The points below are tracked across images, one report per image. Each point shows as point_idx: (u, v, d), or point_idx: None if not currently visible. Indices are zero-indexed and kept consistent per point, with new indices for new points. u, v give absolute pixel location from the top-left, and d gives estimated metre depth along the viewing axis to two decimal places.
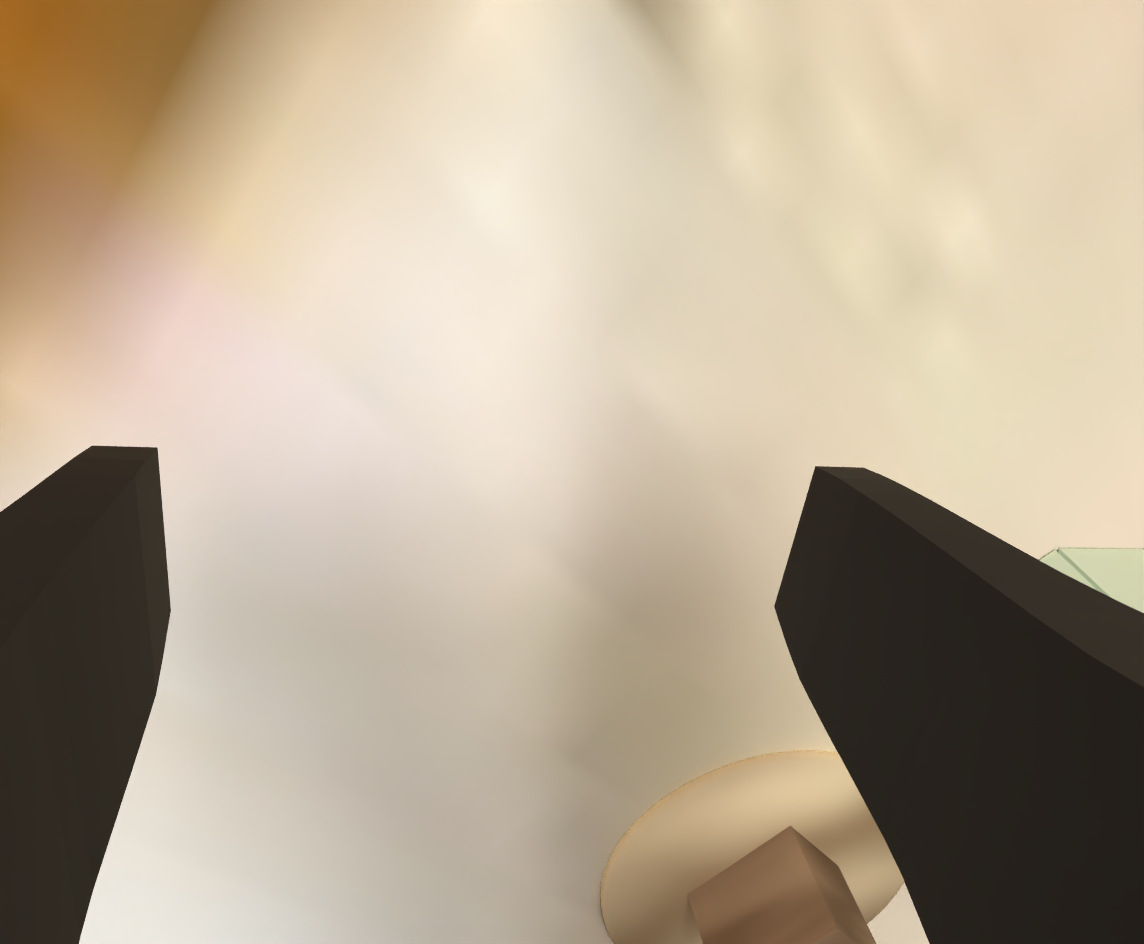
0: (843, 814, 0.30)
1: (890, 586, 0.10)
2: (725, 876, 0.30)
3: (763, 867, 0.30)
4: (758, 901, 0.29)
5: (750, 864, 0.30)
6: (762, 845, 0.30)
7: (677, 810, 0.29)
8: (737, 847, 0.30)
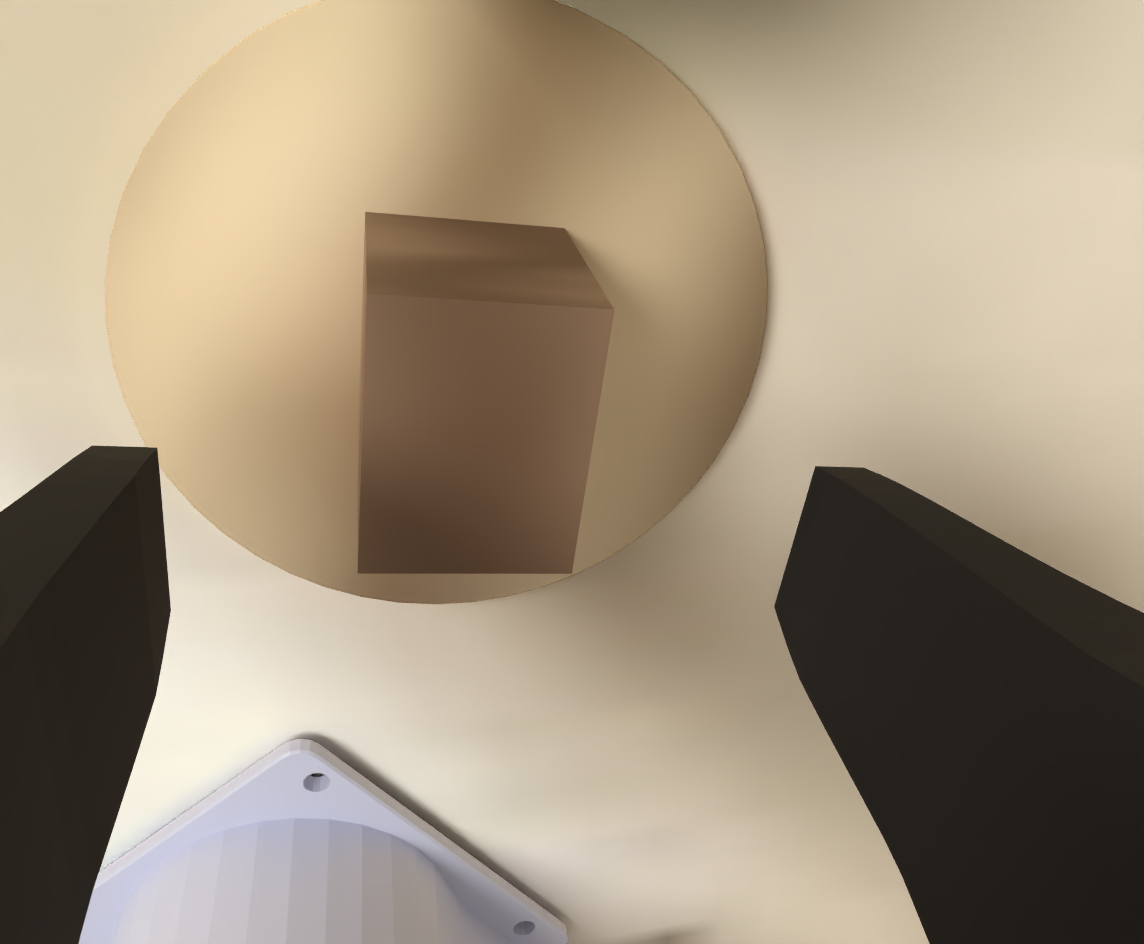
0: (438, 119, 0.14)
1: (890, 586, 0.10)
2: (360, 376, 0.15)
3: (363, 313, 0.14)
4: (361, 371, 0.14)
5: None
6: None
7: (124, 319, 0.15)
8: (326, 316, 0.15)
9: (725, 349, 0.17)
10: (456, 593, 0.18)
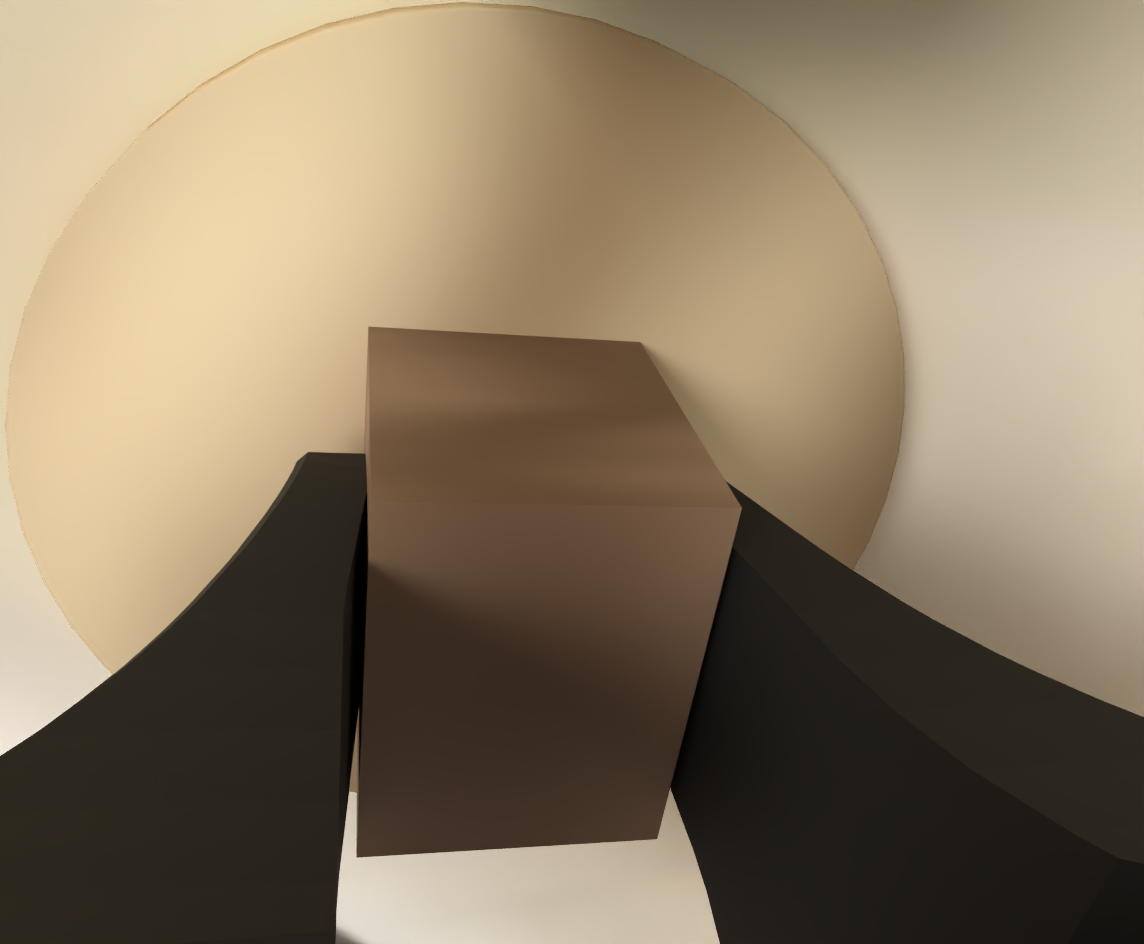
0: (471, 202, 0.10)
1: None
2: None
3: None
4: None
5: None
6: None
7: (36, 472, 0.11)
8: None
9: (843, 488, 0.13)
10: None
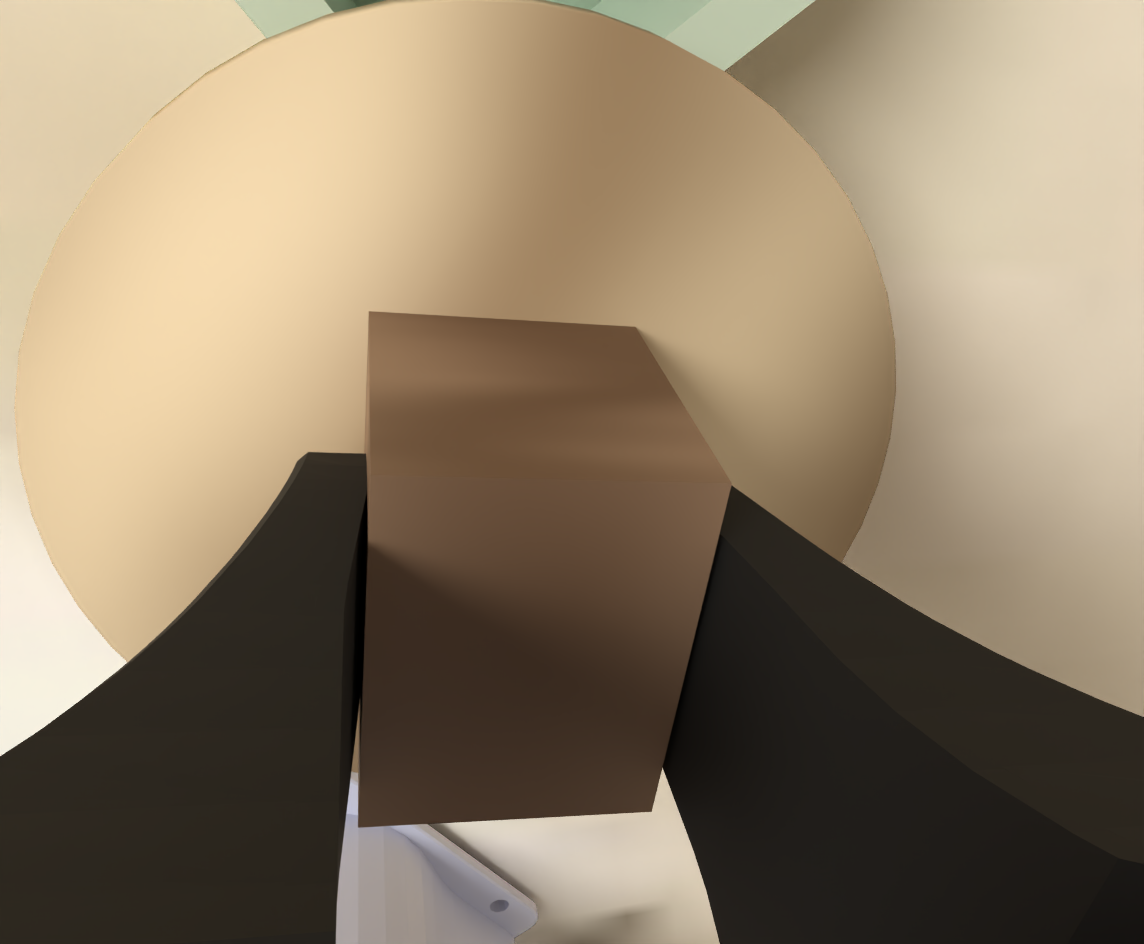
0: (469, 188, 0.10)
1: None
2: None
3: (366, 448, 0.11)
4: None
5: None
6: None
7: (44, 454, 0.11)
8: (316, 445, 0.11)
9: (836, 471, 0.13)
10: None
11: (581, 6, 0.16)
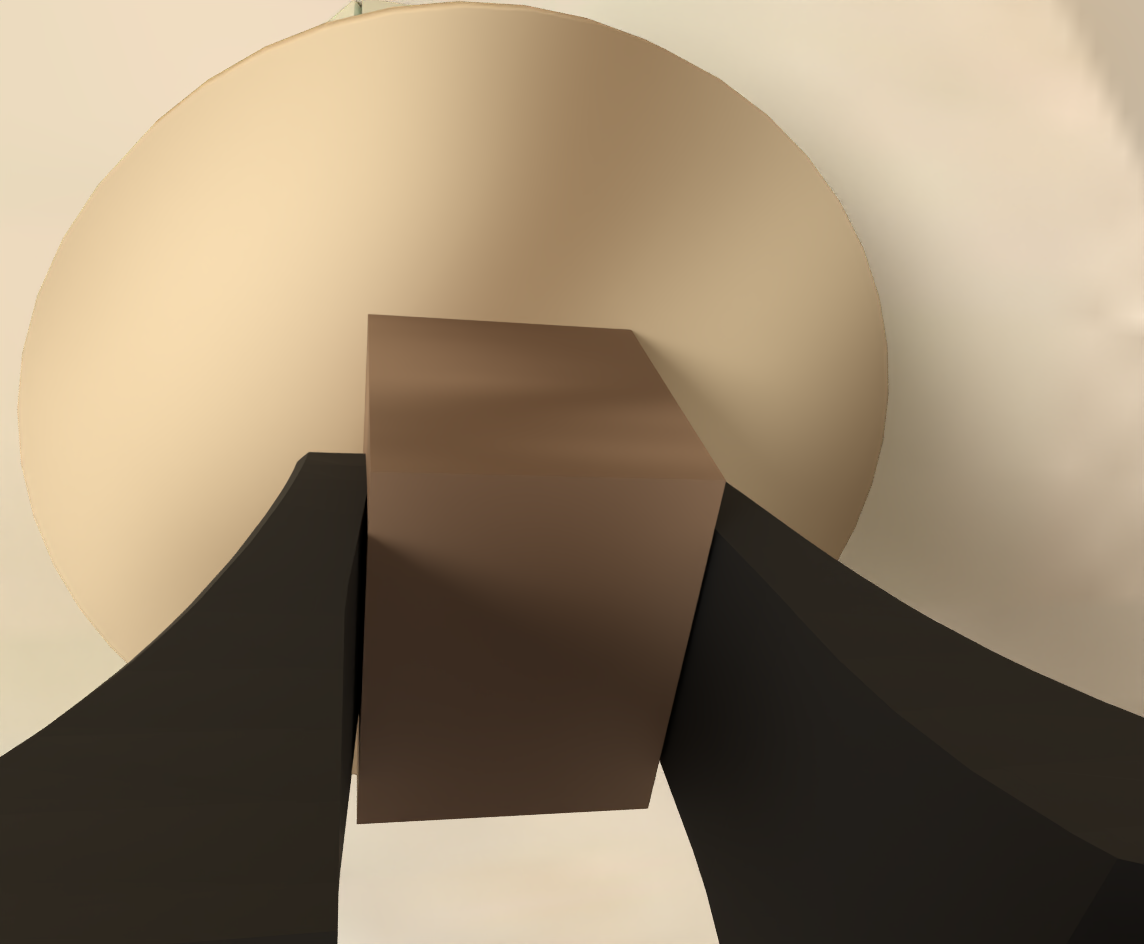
0: (467, 193, 0.10)
1: None
2: None
3: (365, 449, 0.11)
4: None
5: None
6: None
7: (47, 456, 0.11)
8: (316, 447, 0.11)
9: (830, 473, 0.13)
10: None
11: None
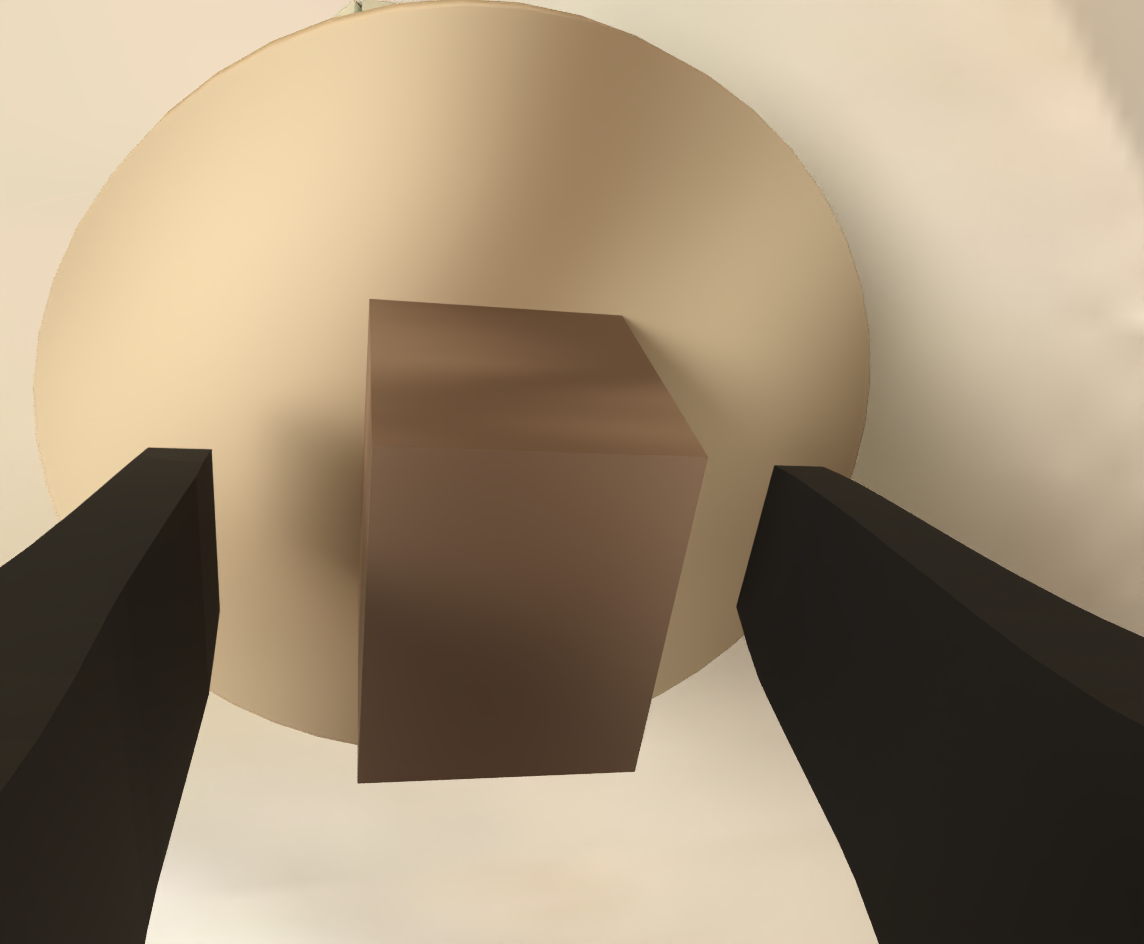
0: (464, 183, 0.11)
1: (842, 586, 0.10)
2: (361, 499, 0.12)
3: (366, 428, 0.11)
4: (364, 509, 0.11)
5: (364, 441, 0.12)
6: None
7: (60, 433, 0.11)
8: (318, 427, 0.12)
9: (814, 456, 0.13)
10: None
11: None
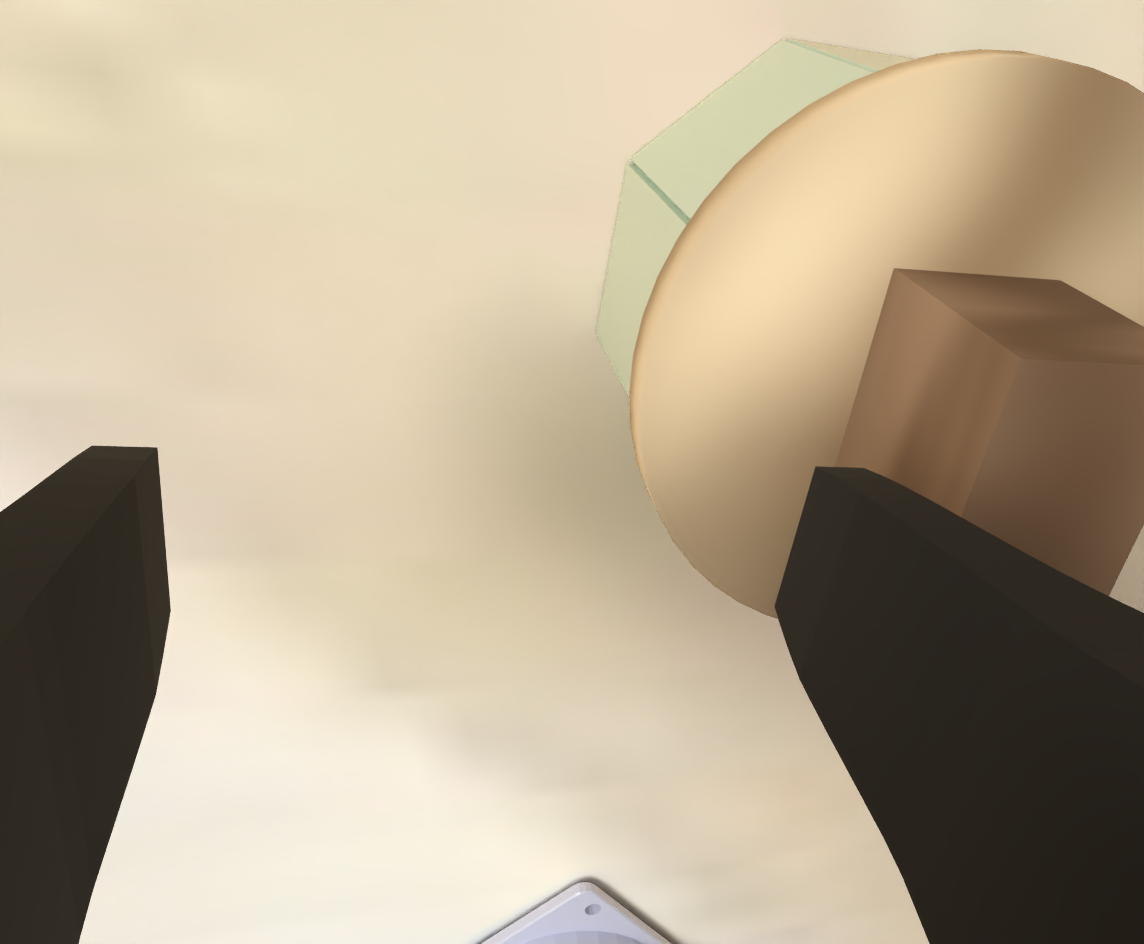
0: (978, 182, 0.15)
1: (889, 586, 0.10)
2: (855, 420, 0.16)
3: (890, 363, 0.15)
4: (905, 419, 0.15)
5: (873, 375, 0.16)
6: (878, 334, 0.16)
7: (662, 369, 0.15)
8: (834, 365, 0.16)
9: None
10: None
11: None
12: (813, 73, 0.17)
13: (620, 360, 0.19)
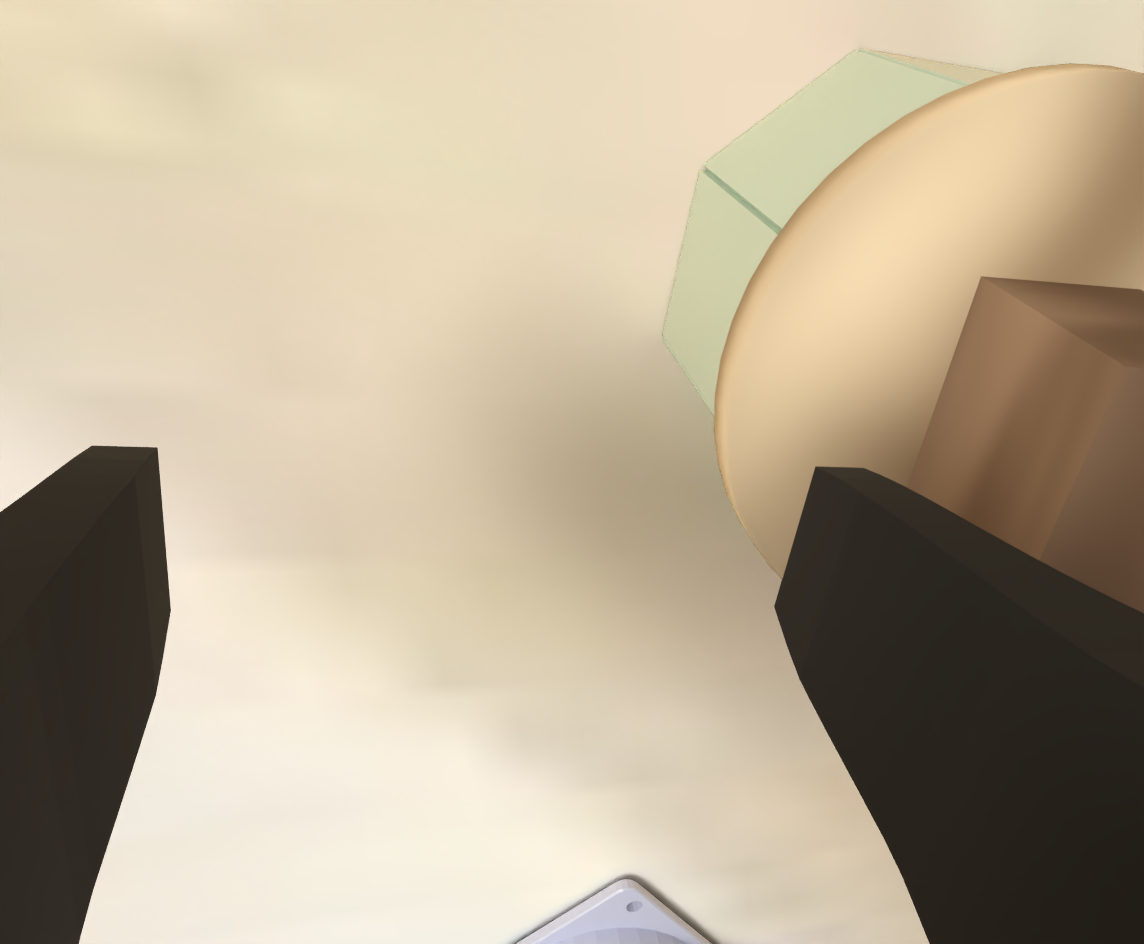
0: (1067, 193, 0.15)
1: (889, 586, 0.10)
2: (937, 425, 0.17)
3: (976, 369, 0.16)
4: (994, 425, 0.15)
5: (957, 380, 0.16)
6: (962, 340, 0.16)
7: (752, 374, 0.16)
8: (918, 370, 0.16)
9: None
10: None
11: None
12: (895, 84, 0.17)
13: (693, 364, 0.20)
